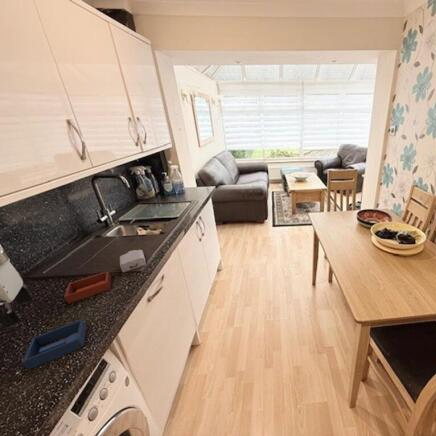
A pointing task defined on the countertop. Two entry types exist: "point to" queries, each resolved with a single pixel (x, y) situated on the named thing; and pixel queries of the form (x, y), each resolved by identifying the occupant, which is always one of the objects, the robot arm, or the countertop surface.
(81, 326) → the blue bin
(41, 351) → the blue spoon
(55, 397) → the countertop surface
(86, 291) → the red bin
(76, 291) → the red spoon
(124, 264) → the charger
